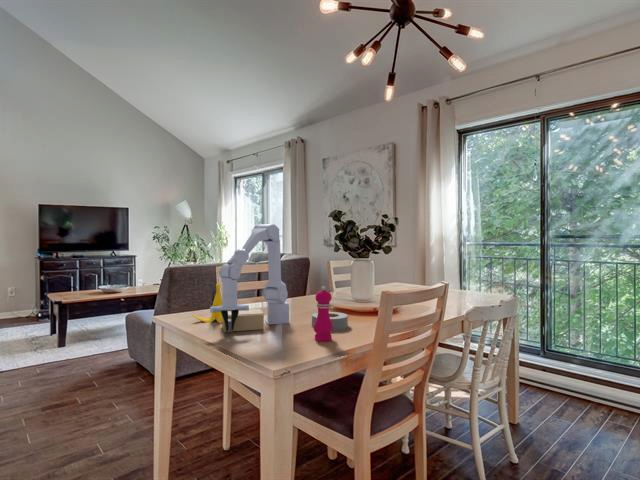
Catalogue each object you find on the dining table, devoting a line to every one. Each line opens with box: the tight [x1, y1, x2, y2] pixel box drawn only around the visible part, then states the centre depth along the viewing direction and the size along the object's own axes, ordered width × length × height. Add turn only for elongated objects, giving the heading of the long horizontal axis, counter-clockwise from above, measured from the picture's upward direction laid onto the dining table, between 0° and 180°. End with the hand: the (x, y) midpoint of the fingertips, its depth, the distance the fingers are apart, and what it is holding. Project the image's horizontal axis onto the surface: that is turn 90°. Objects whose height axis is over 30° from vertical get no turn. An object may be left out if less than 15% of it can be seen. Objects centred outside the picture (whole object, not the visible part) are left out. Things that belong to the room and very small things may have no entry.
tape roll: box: [311, 311, 349, 332], centre depth 167 cm, size 15×15×5 cm
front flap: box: [223, 313, 265, 333], centre depth 155 cm, size 16×6×6 cm, turn 107°
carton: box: [221, 308, 265, 332], centre depth 163 cm, size 16×10×7 cm, turn 107°
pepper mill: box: [313, 285, 333, 343], centre depth 146 cm, size 7×7×20 cm
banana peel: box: [192, 283, 222, 324], centre depth 178 cm, size 17×19×17 cm
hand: (229, 329), depth 152 cm, fingers closed on front flap
